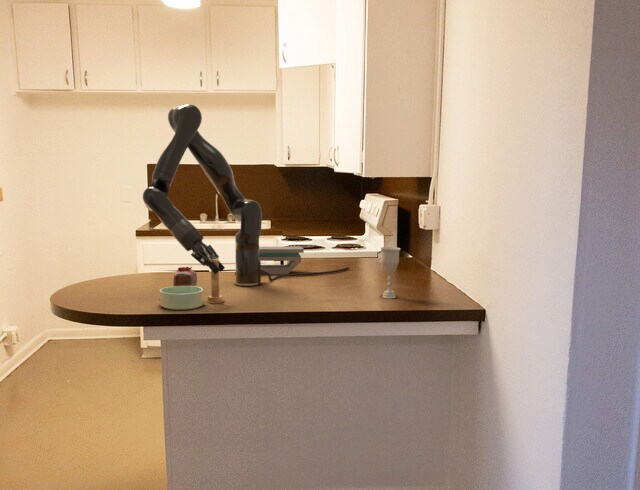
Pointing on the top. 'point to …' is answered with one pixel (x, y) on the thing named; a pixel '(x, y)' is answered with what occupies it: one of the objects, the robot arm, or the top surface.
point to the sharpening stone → (280, 258)
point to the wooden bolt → (215, 286)
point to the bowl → (181, 297)
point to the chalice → (390, 266)
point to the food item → (185, 277)
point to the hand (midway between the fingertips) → (220, 270)
